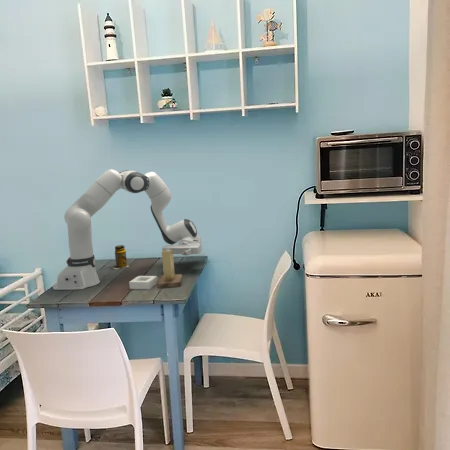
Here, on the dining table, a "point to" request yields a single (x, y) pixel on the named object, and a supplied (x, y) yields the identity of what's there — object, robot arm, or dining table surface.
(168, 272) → the peg
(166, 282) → the board
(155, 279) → the socket block
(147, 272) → the dining table surface
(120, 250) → the condiment
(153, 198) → the robot arm
